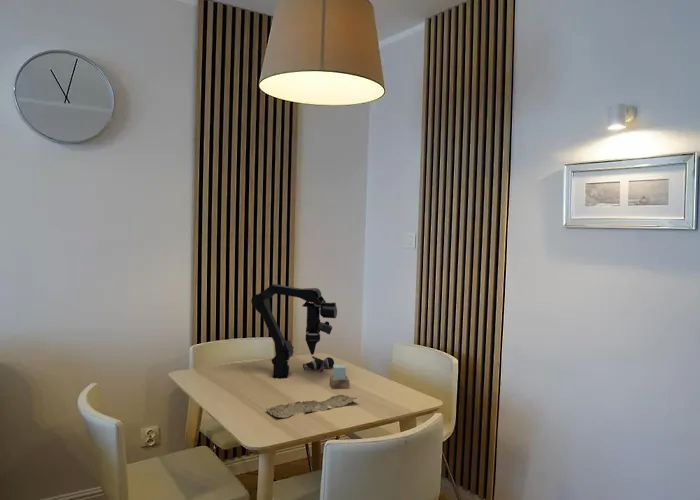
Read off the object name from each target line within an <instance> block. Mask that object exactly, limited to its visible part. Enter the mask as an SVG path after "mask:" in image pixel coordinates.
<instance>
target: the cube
mask: <svg viewBox="0 0 700 500" xmlns="http://www.w3.org/2000/svg"><path fill="white" fill-rule="evenodd" d="M332 371H333V373H332V376H333V379H341V380H345V375H346V371H347V370H346V364H334V365H333V367H332Z"/></svg>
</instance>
